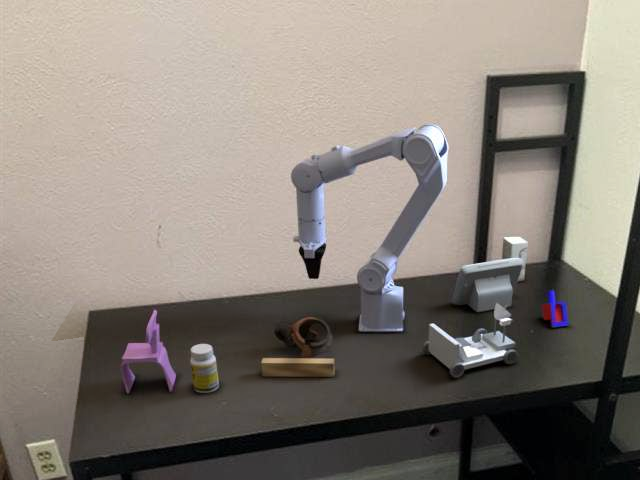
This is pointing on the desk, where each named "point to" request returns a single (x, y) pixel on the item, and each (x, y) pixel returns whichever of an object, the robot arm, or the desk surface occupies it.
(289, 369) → the bar
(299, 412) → the desk surface
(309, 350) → the pottery mug
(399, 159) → the robot arm
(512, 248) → the white tall block
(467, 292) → the digital clock
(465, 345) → the toy cart
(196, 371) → the supplement bottle
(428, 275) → the desk surface
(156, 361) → the chair
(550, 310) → the toy building block
